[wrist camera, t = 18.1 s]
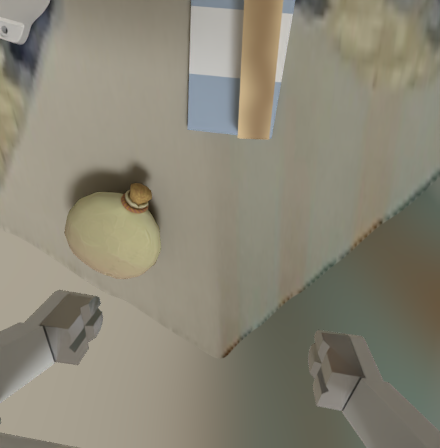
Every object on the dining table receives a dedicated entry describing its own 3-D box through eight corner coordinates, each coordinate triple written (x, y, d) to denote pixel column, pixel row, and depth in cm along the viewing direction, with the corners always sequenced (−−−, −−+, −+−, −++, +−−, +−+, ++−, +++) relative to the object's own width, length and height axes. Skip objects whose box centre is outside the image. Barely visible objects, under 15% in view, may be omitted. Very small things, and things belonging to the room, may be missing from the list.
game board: (189, 128, 39) (187, 129, 38) (198, -173, 26) (196, -184, 24) (270, 137, 38) (271, 138, 37) (323, -169, 25) (326, -180, 24)
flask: (73, 228, 49) (113, 148, 42) (146, 272, 52) (195, 204, 45) (38, 254, 41) (80, 160, 34) (127, 304, 44) (183, 228, 37)
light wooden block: (239, 133, 37) (237, 138, 33) (249, -64, 28) (248, -86, 24) (267, 134, 37) (269, 139, 33) (287, -65, 27) (292, -88, 24)
